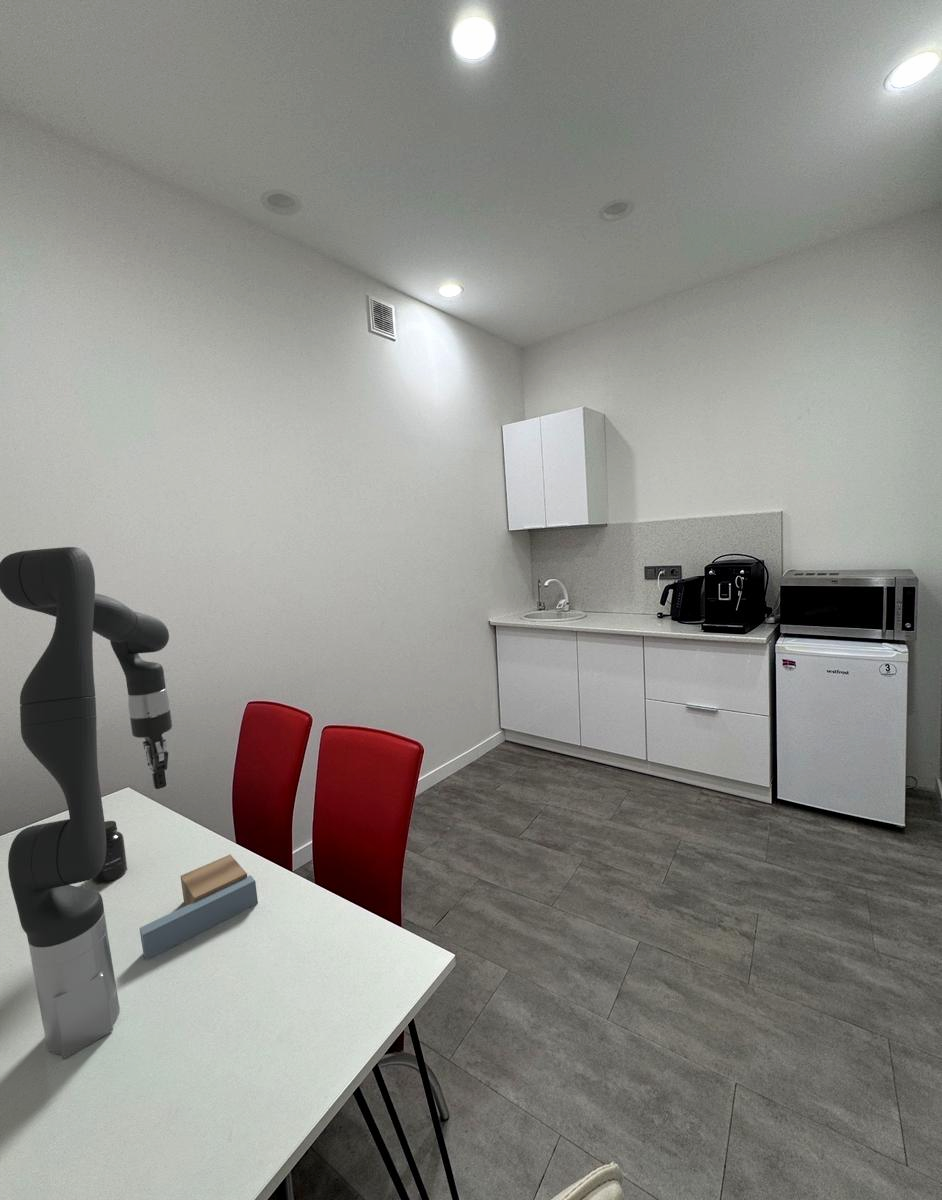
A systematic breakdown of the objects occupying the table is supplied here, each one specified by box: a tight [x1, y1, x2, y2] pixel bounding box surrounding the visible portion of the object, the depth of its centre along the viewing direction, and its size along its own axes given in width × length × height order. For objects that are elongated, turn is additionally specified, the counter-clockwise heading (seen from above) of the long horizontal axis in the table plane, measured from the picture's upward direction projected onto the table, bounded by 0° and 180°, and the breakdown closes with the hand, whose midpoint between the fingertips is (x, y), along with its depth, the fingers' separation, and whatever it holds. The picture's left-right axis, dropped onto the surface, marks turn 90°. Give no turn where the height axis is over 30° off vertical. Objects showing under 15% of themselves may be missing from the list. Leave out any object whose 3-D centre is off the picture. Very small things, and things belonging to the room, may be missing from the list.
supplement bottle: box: [91, 820, 128, 885], centre depth 120 cm, size 7×7×12 cm
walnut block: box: [180, 854, 248, 906], centre depth 109 cm, size 10×10×6 cm
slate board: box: [139, 875, 259, 961], centre depth 102 cm, size 2×20×5 cm, turn 133°
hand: (160, 787), depth 116 cm, fingers closed
